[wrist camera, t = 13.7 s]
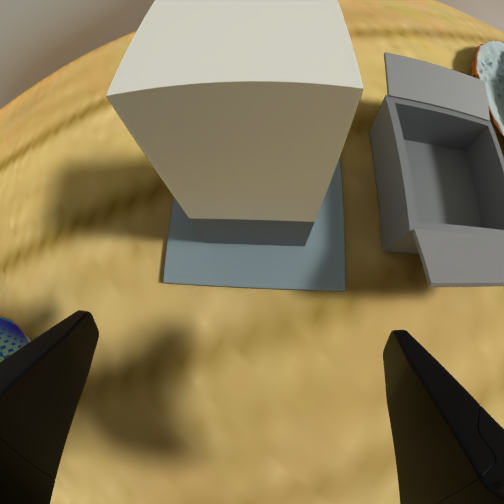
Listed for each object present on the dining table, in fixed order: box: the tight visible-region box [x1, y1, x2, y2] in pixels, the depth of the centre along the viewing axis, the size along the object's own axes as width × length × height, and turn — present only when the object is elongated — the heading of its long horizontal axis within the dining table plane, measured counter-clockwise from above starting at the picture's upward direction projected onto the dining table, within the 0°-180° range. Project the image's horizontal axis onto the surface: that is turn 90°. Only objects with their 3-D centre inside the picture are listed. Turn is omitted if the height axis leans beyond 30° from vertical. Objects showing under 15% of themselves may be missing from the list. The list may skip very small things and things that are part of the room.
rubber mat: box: [163, 157, 345, 291], centre depth 18 cm, size 10×10×1 cm
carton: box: [369, 52, 504, 287], centre depth 15 cm, size 14×8×5 cm, turn 177°
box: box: [106, 0, 364, 246], centre depth 12 cm, size 5×5×12 cm
